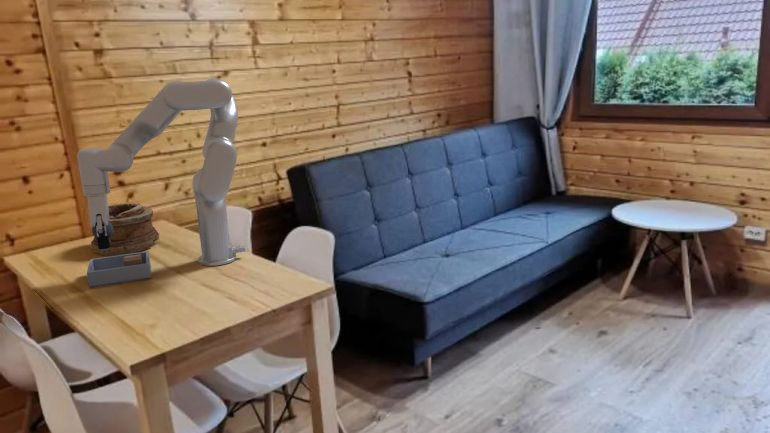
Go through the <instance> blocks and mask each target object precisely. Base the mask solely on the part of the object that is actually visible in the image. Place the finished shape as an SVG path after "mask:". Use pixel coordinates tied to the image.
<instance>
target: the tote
mask: <svg viewBox="0 0 770 433" xmlns="http://www.w3.org/2000/svg"><path fill="white" fill-rule="evenodd" d="M139 254H141V258H142V264H139V265H132V266H124V257H125V256H132V255H139ZM150 257H151V256H150V252H149V251H146V250H145V251H140V252H136V253H130V254H123V255H115V256H106V257H103V256H102V257H97V258H89V259H90V260H89V262H88V267H87V270H86V276H87V282H88V287H89V289H93V288H100V287H106V286H113V285H119V284H120V285H121V284H126V283H133V282H139V281H144V280H145V281H146V280H151V279H152V266H151V260H150V259H151V258H150Z"/></svg>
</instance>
